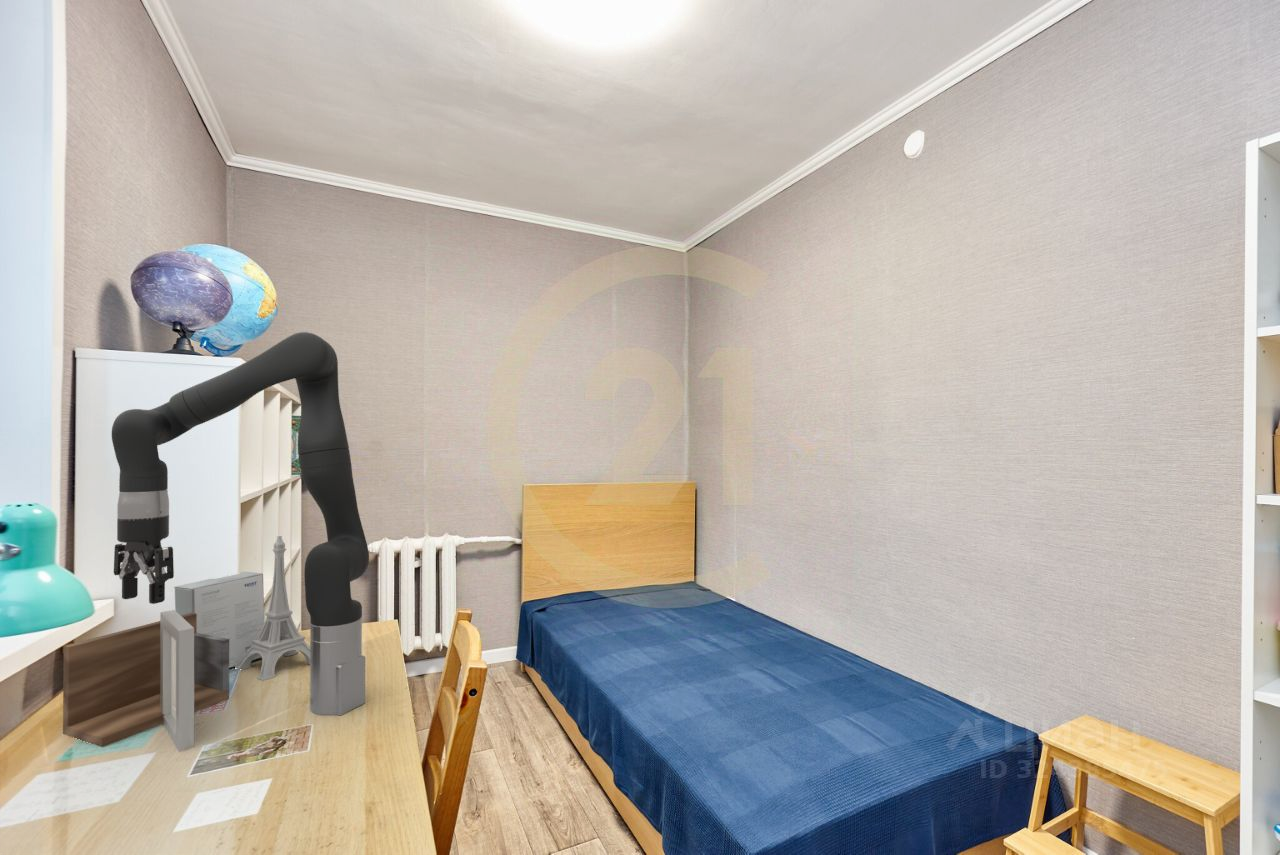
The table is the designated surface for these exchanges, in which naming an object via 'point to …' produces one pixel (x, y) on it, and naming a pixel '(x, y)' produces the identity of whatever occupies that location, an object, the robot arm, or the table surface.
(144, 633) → the walnut shelf
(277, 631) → the eiffel tower
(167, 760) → the table surface
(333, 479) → the robot arm
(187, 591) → the hard drive box
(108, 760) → the table surface
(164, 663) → the picture frame
